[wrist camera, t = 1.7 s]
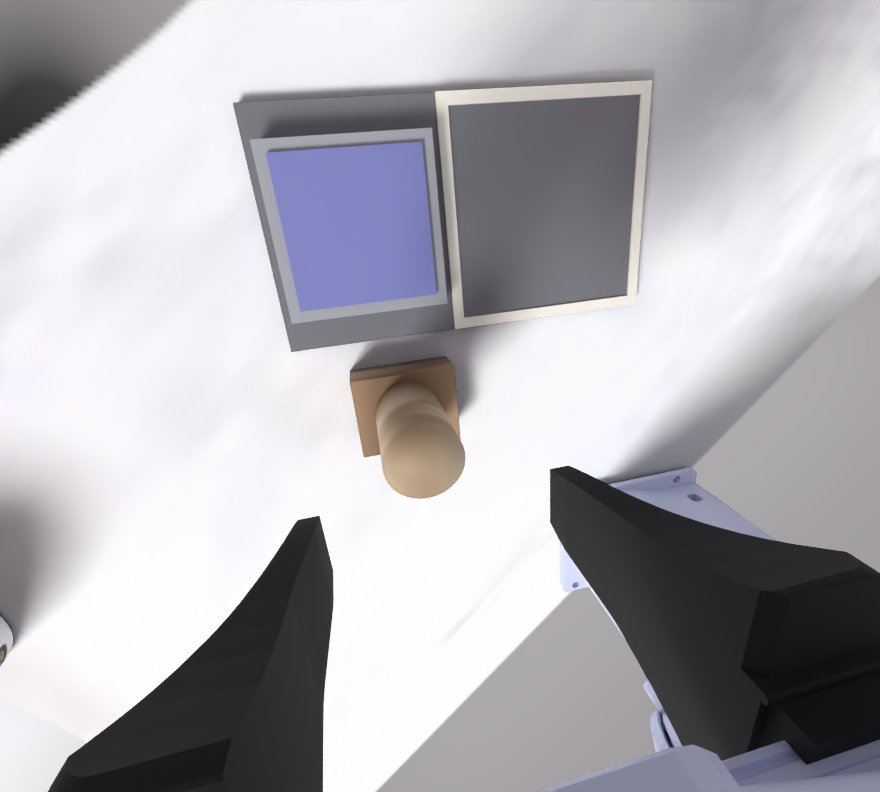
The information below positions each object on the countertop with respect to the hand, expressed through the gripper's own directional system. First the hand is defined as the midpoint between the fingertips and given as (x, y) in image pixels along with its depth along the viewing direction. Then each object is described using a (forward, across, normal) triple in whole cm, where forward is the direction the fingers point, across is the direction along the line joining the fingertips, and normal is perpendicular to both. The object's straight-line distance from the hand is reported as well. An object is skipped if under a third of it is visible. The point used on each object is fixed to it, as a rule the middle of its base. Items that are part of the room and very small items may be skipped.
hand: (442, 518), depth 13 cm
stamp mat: (+10, -4, -8) cm, 14 cm away
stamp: (+10, 0, 0) cm, 10 cm away
